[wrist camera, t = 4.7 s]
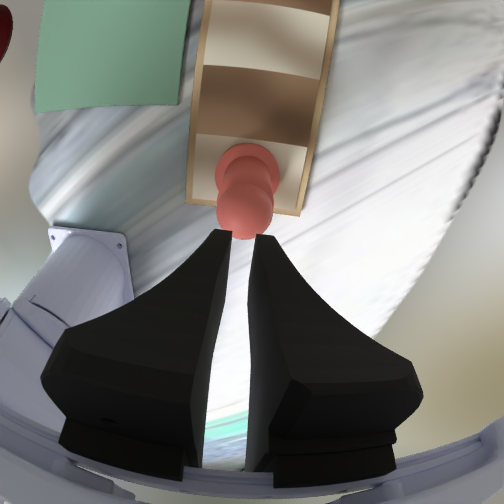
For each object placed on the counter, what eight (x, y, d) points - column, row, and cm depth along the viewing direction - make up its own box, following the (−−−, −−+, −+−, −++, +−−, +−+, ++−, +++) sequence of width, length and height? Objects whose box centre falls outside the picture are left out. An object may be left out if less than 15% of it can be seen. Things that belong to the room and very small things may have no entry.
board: (298, 213, 21) (300, 217, 20) (187, 199, 20) (184, 204, 20) (345, -78, 8) (348, -82, 7) (228, -95, 8) (227, -100, 7)
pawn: (273, 204, 20) (281, 267, 14) (214, 197, 19) (195, 258, 13) (283, 147, 17) (299, 186, 11) (219, 139, 17) (199, 174, 11)
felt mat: (178, 104, 17) (177, 105, 16) (37, 112, 16) (35, 113, 16) (207, -72, 9) (206, -74, 9) (57, -41, 8) (55, -42, 8)
